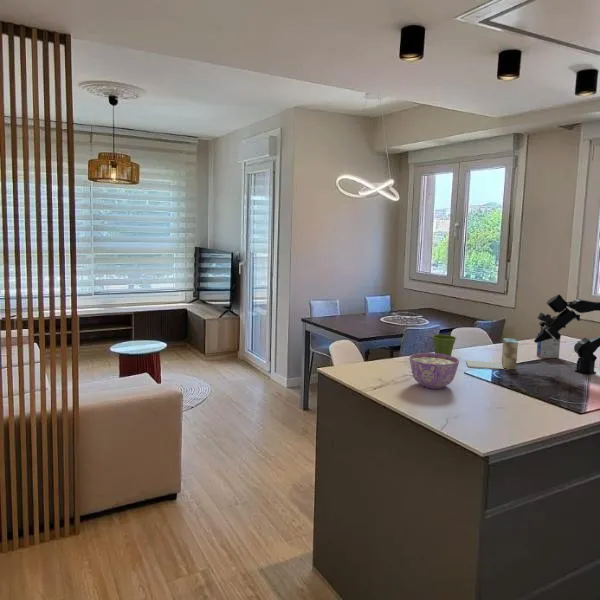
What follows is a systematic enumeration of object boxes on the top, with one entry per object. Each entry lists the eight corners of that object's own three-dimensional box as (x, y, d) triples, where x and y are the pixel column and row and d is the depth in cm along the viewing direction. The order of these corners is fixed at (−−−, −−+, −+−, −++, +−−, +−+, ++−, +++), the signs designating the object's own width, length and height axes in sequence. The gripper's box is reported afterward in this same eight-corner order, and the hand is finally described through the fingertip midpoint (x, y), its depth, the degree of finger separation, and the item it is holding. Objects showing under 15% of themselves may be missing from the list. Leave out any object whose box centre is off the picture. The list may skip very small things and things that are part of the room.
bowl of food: (422, 394, 203) (424, 365, 202) (399, 380, 222) (400, 353, 221) (467, 391, 209) (469, 363, 207) (441, 377, 228) (442, 351, 226)
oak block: (512, 365, 251) (514, 338, 250) (515, 370, 243) (517, 342, 241) (501, 364, 252) (503, 338, 251) (504, 369, 244) (506, 342, 242)
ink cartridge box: (554, 355, 272) (556, 328, 270) (559, 358, 267) (562, 330, 265) (535, 355, 273) (537, 328, 271) (540, 357, 267) (542, 330, 265)
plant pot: (456, 362, 255) (457, 339, 253) (431, 360, 257) (432, 338, 256) (454, 356, 266) (455, 335, 265) (430, 355, 269) (431, 333, 267)
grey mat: (500, 363, 254) (500, 362, 254) (504, 369, 242) (504, 368, 242) (465, 361, 257) (465, 360, 257) (468, 367, 246) (468, 366, 246)
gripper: (545, 304, 249) (518, 325, 253) (555, 310, 231) (526, 333, 235) (561, 321, 249) (534, 342, 252) (572, 328, 230) (544, 351, 234)
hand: (534, 341), depth 243 cm, fingers closed
